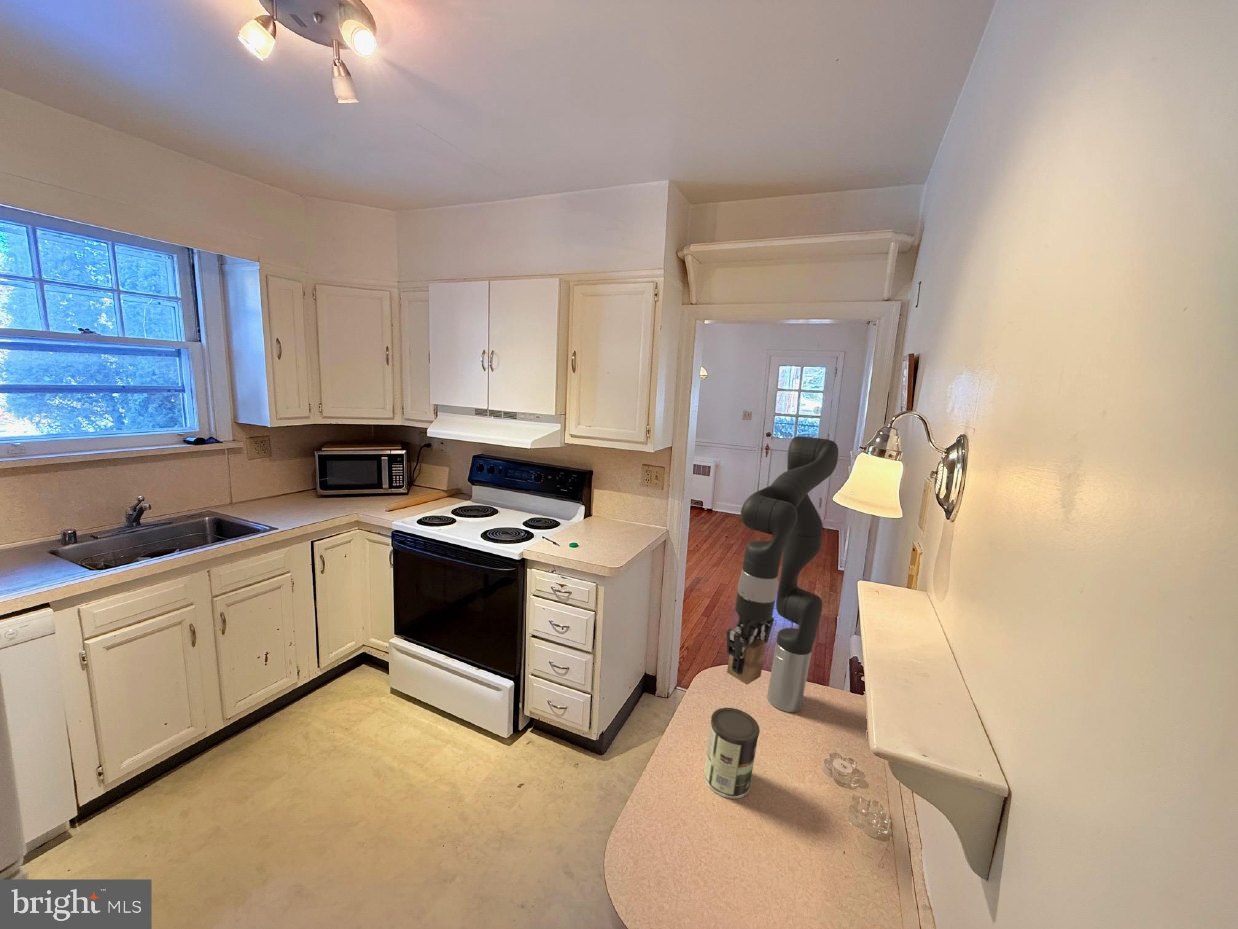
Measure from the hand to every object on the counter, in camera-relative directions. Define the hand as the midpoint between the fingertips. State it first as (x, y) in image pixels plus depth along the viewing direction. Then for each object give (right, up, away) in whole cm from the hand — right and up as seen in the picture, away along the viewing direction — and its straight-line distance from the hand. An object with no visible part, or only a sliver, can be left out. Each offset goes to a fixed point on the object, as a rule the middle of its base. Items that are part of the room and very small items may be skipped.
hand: (744, 667), depth 103 cm
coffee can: (-3, -27, +5) cm, 28 cm away
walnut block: (0, -2, 0) cm, 2 cm away
